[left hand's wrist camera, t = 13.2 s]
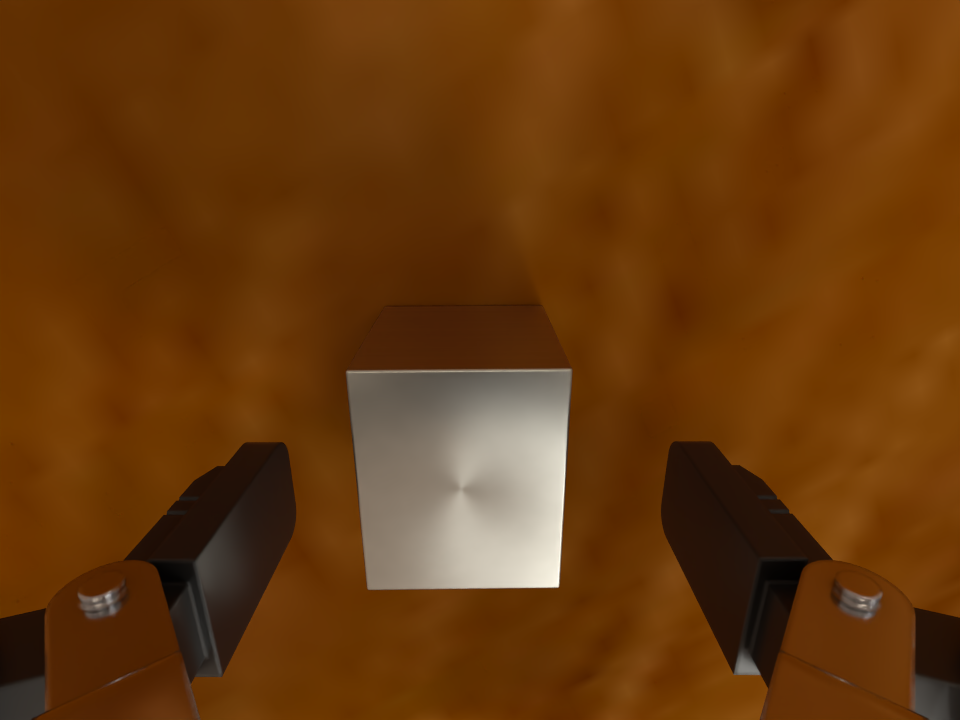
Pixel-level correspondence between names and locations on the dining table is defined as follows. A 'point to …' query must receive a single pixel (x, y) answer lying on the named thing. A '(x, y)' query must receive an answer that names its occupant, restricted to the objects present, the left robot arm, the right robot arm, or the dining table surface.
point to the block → (461, 447)
